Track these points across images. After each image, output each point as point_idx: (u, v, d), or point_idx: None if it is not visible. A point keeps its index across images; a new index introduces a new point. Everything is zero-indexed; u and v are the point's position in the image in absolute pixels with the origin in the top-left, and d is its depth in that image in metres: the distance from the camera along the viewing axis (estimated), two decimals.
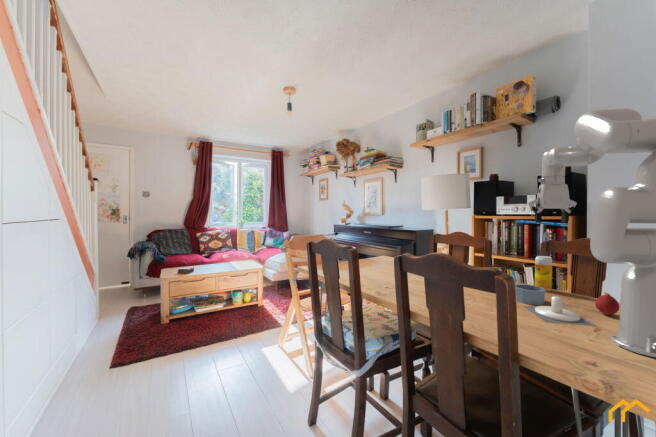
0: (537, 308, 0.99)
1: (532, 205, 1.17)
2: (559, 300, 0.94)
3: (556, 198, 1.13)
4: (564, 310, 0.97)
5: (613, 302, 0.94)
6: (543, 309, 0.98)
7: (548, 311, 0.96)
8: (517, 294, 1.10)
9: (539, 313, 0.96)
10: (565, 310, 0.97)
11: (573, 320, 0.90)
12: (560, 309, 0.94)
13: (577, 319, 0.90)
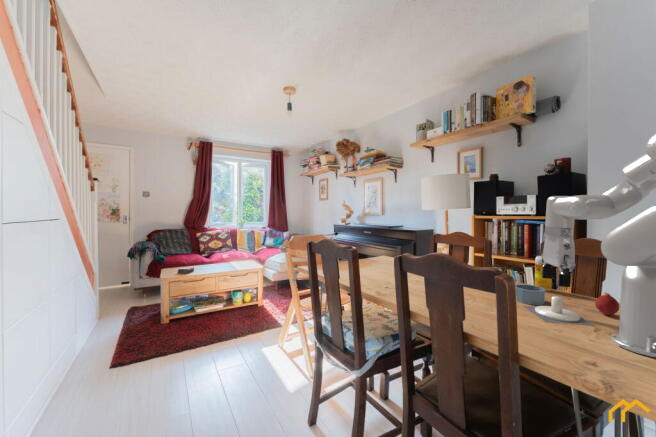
0: (537, 308, 0.99)
1: None
2: (559, 300, 0.94)
3: None
4: (564, 310, 0.97)
5: (613, 302, 0.94)
6: (543, 309, 0.98)
7: (548, 311, 0.96)
8: (517, 294, 1.10)
9: (539, 313, 0.96)
10: (565, 310, 0.97)
11: (573, 320, 0.90)
12: (560, 309, 0.94)
13: (577, 319, 0.90)
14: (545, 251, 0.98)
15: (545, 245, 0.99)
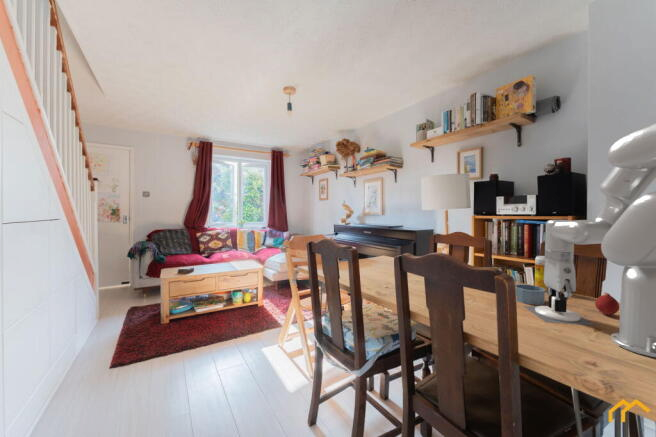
0: (537, 308, 0.99)
1: None
2: None
3: None
4: None
5: (613, 302, 0.94)
6: (543, 309, 0.98)
7: (548, 311, 0.96)
8: (517, 294, 1.10)
9: (539, 313, 0.96)
10: None
11: (573, 320, 0.90)
12: None
13: (577, 319, 0.90)
14: (546, 274, 0.98)
15: (545, 268, 0.98)
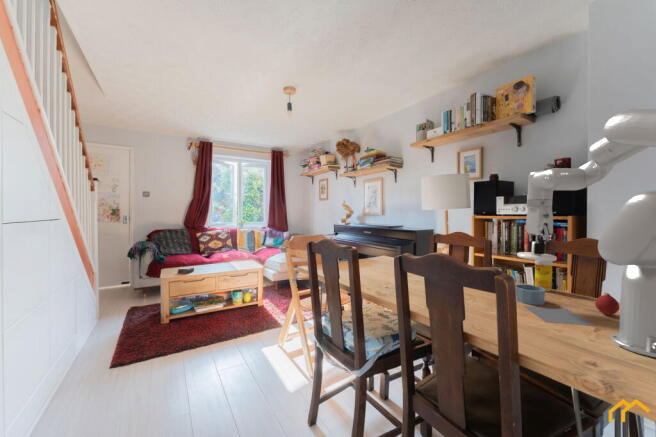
0: (519, 253, 1.09)
1: None
2: None
3: None
4: (543, 254, 1.08)
5: (613, 302, 0.94)
6: (524, 254, 1.08)
7: (528, 254, 1.06)
8: (517, 294, 1.10)
9: (520, 256, 1.06)
10: (544, 254, 1.08)
11: (550, 259, 1.00)
12: None
13: (553, 259, 1.01)
14: (527, 222, 1.08)
15: (527, 217, 1.08)
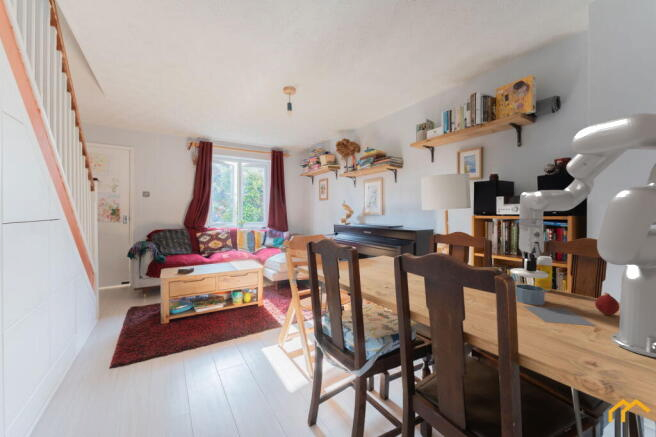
0: (512, 269, 1.14)
1: None
2: None
3: None
4: None
5: (613, 302, 0.94)
6: (518, 270, 1.13)
7: (521, 271, 1.11)
8: (517, 294, 1.10)
9: (513, 273, 1.11)
10: (536, 270, 1.12)
11: (541, 276, 1.05)
12: None
13: (545, 276, 1.05)
14: (520, 240, 1.13)
15: (520, 235, 1.13)
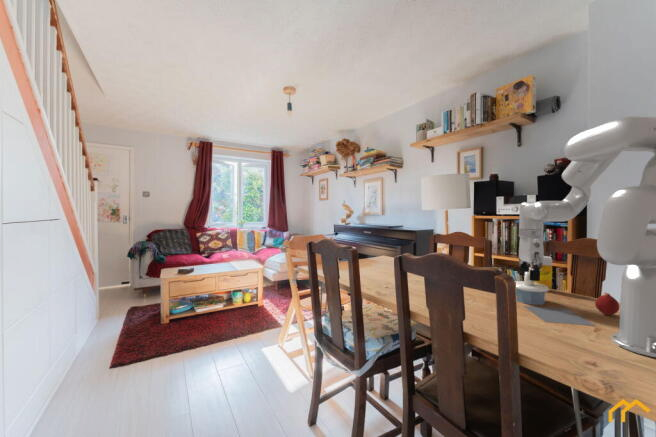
0: None
1: None
2: None
3: None
4: (535, 284, 1.12)
5: (613, 302, 0.94)
6: (518, 283, 1.13)
7: (521, 285, 1.11)
8: (517, 294, 1.10)
9: None
10: (536, 284, 1.12)
11: (541, 290, 1.05)
12: (531, 282, 1.09)
13: (545, 290, 1.05)
14: (520, 250, 1.13)
15: (520, 244, 1.13)
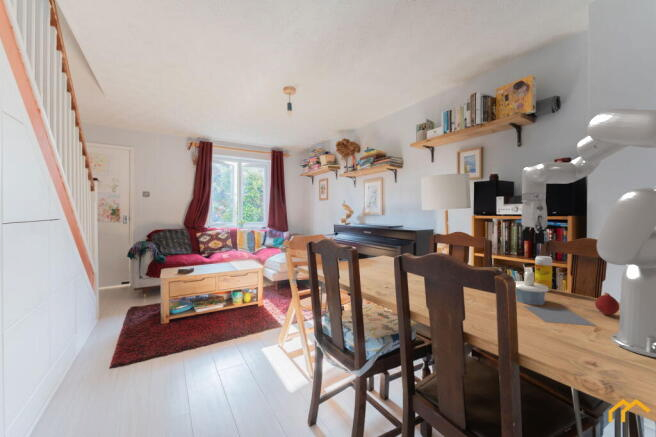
0: None
1: None
2: (531, 274, 1.09)
3: None
4: (535, 284, 1.12)
5: (613, 302, 0.94)
6: (518, 283, 1.13)
7: (521, 285, 1.11)
8: (517, 294, 1.10)
9: None
10: (536, 284, 1.12)
11: (541, 290, 1.05)
12: (531, 282, 1.09)
13: (545, 290, 1.05)
14: (523, 216, 1.12)
15: (523, 211, 1.12)
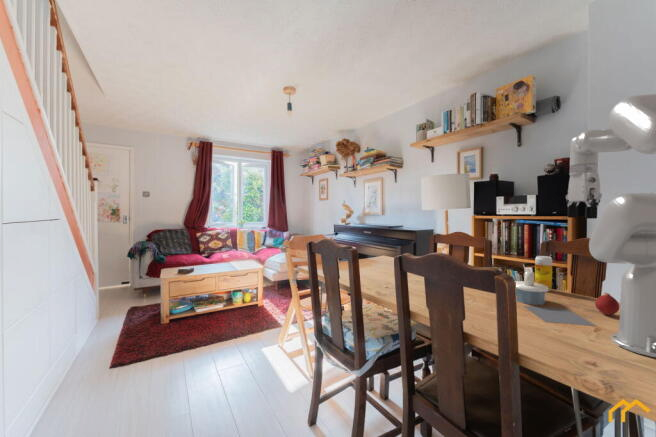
0: None
1: None
2: (531, 274, 1.09)
3: None
4: (535, 284, 1.12)
5: (613, 302, 0.94)
6: (518, 283, 1.13)
7: (521, 285, 1.11)
8: (517, 294, 1.10)
9: None
10: (536, 284, 1.12)
11: (541, 290, 1.05)
12: (531, 282, 1.09)
13: (545, 290, 1.05)
14: (570, 190, 1.04)
15: (570, 185, 1.05)
